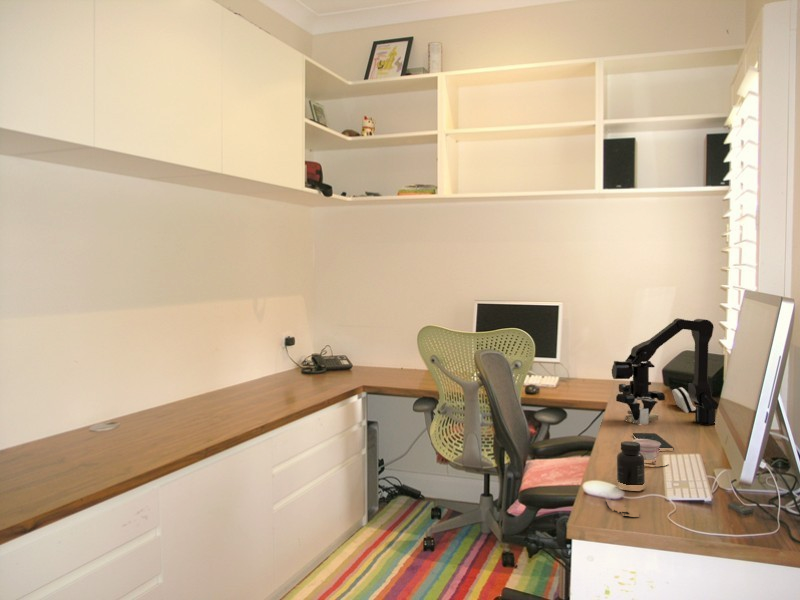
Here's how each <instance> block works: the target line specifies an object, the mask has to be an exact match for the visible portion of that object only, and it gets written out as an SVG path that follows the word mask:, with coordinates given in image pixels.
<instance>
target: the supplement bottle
mask: <svg viewBox="0 0 800 600" xmlns="http://www.w3.org/2000/svg"><path fill="white" fill-rule="evenodd" d="M632 441H633V440H632ZM632 441H630V440H628V441H627V440H626V441H621V442H620V450H621V451H620V452H618V453H617V456H616V481H617V480H618V482H620V483H623V484H626V485H643V484H644V483H645V484H646V482H645V481H646V480H645V479H646V477H645V475H646V474H645V471H646V469H645V468H646V467H645V465H644V464H645V463H644V456H643V455H642V454H641V453H639V452H640V443H637V442H632Z"/></svg>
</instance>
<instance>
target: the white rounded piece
mask: <svg viewBox="0 0 800 600" xmlns="http://www.w3.org/2000/svg"><path fill="white" fill-rule="evenodd" d="M671 393H672V396H673V398H674V400H675V401H674V402H675V404H676V406H677V407H679V408H680V409H681V411H683V412H684V413H687V414H688V413H690V412H695V410H696V406H694V404H693V401H692V399H691V398H690V397H689V394H688V391H687V390H686V389H685V388H683V387H678V388H674V389H672V391H671Z"/></svg>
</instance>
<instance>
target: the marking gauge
mask: <svg viewBox="0 0 800 600" xmlns="http://www.w3.org/2000/svg"><path fill="white" fill-rule="evenodd" d="M648 412H649V409H648V408H644V407H643V406H640V407H639V413H638V418H637V420H634V417H633V422H634V423H637V424H636V425H638V424H646V425H649V421H648ZM627 414H628V415H632V412H631V409H628V410H627ZM634 423H633V424H634Z"/></svg>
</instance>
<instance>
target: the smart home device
mask: <svg viewBox="0 0 800 600" xmlns="http://www.w3.org/2000/svg"><path fill="white" fill-rule="evenodd" d="M633 435H634V436H635V437H636V438H638V439H649V440H654V441H658V442H660V443H661V445H660V447H659V448H673V449H674V446H672V445H671V444H670V443H669V442H667V441H666V440H665V439H663V438H662V437H661V436H660V435H659V434H657V432H656V433H655V432H652V433H651V432H649V433H648V432H647V433H646V432H633V433H632V436H633Z"/></svg>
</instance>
